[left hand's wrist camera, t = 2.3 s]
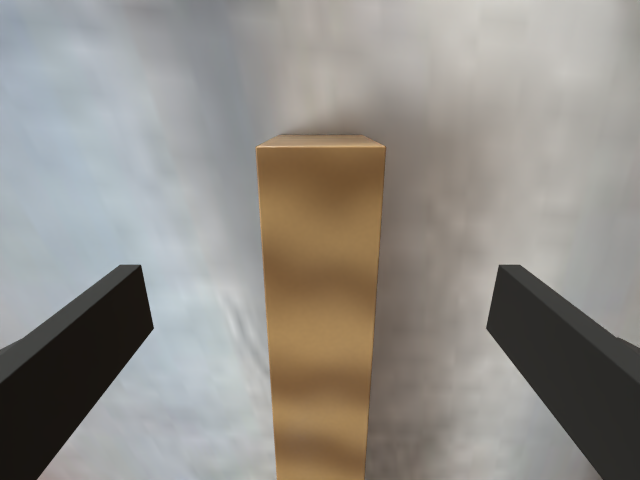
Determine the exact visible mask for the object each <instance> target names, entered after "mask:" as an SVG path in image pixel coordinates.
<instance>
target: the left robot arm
mask: <svg viewBox="0 0 640 480" xmlns="http://www.w3.org/2000/svg"><path fill="white" fill-rule="evenodd" d="M153 329H154V327H153V322H152V317H151V312H150V307H149V302H148V297H147V292H146V287H145V282H144V277H143V272H142V267H141V265H119V266H118V267H117V268H115V269H114V270H113V271H111V272H110V273H109V274H107V275H106V276H105V277H103V278H102V279H101V280H99V281H98V282H97V283H95V284H94V285H93V286H91V287H90V288H89V289H87V290H86V291H85V292H83V293H82V294H81V295H79V296H78V297H77V298H75V299H74V300H73V301H72V302H70V303H69V304H68V305H66V306H65V307H64V308H62V309H61V310H60V311H58V312H57V313H56V314H54V315H53V316H52V317H50V318H49V319H48V320H46V321H45V322H44V323H42V324H41V325H40V326H38V327H37V328H36V329H34V330H33V331H32V332H30V333H29V334H28V335H27V336H25V337H24V338H23V339H20V340H18V341H16V342H14V343H12V344H11V345H9V346H7V347H5V348H3V349H1V350H0V480H37V479H38V477H39V476H40V475H41V474H42V472H43V471H44V470H45V468H46V467H47V466H48V465H49V463H50V462H51V461H52V459H53V458H54V457H55V455H56V454H57V453H58V452H59V450H60V449H61V448H62V446H63V445H64V444H65V443H66V441H67V440H68V439H69V437H70V436H71V435H72V434H73V432H74V431H75V430H76V428H77V427H78V426H79V424H80V423H81V422H82V421H83V419H84V418H85V417H86V415H87V414H88V413H89V412H90V410H91V409H92V408H93V406H94V405H95V404H96V403H97V401H98V400H99V399H100V397H101V396H102V395H103V393H104V392H105V391H106V390H107V388H108V387H109V386H110V384H111V383H112V382H113V381H114V379H115V378H116V377H117V375H118V374H119V373H120V372H121V370H122V369H123V368H124V366H125V365H126V364H127V362H128V361H129V360H130V359H131V357H132V356H133V355H134V353H135V352H136V351H137V350H138V348H139V347H140V346H141V344H142V343H143V342H144V341H145V339H146V338H147V337H148V335H149V334H150V333H151V331H152V330H153ZM486 329H487V330H488V331H489V333H490V334H491V335H492V337H493V338H494V339H495V341H496V342H497V343H498V344H499V346H500V347H501V348H502V350H503V351H504V352H505V353H506V355H507V356H508V357H509V359H510V360H511V361H512V362H513V364H514V365H515V366H516V368H517V369H518V370H519V372H520V373H521V374H522V375H523V377H524V378H525V379H526V381H527V382H528V383H529V384H530V386H531V387H532V388H533V390H534V391H535V392H536V393H537V395H538V396H539V397H540V399H541V400H542V401H543V403H544V404H545V405H546V406H547V408H548V409H549V410H550V412H551V413H552V414H553V415H554V417H555V418H556V419H557V421H558V422H559V423H560V424H561V426H562V427H563V428H564V430H565V431H566V432H567V434H568V435H569V436H570V437H571V439H572V440H573V441H574V443H575V444H576V445H577V446H578V448H579V449H580V450H581V452H582V453H583V454H584V455H585V457H586V458H587V459H588V461H589V462H590V463H591V465H592V466H593V467H594V468H595V470H596V471H597V472H598V474H599V475H600V476H601V477H602V479H603V480H640V348H638V347H636V346H634V345H632V344H630V343H628V342H626V341H625V340H623V339H621V338H616V337H615V336H613V335H612V334H611V333H610V332H608V331H607V330H606V329H604V328H603V327H602V326H600V325H599V324H598V323H596V322H595V321H594V320H592V319H591V318H590V317H588V316H587V315H586V314H584V313H583V312H582V311H580V310H579V309H578V308H576V307H575V306H574V305H572V304H571V303H570V302H568V301H567V300H566V299H565V298H563V297H562V296H561V295H559V294H558V293H557V292H555V291H554V290H553V289H551V288H550V287H549V286H547V285H546V284H545V283H543V282H542V281H541V280H539V279H538V278H537V277H535V276H534V275H533V274H531V273H530V272H529V271H527V270H526V269H525V268H523V267H522V266H521V265H499V267H498V272H497V277H496V282H495V287H494V292H493V297H492V302H491V307H490V312H489V317H488V322H487V327H486Z"/></svg>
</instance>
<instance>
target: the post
mask: <svg viewBox="0 0 640 480" xmlns="http://www.w3.org/2000/svg"><path fill="white" fill-rule="evenodd" d="M385 157H386V147H385V146H383V145H381V144H379V143H377V142H375V141H373V140H371V139H369V138H367V137H365V136H363V135H278V136H276V137H274V138H272V139H270V140H268V141H266V142H264V143H262V144H260V145H258V146H256V163H257V178H258V194H259V209H260V225H261V240H262V256H263V271H264V287H265V302H266V318H267V333H268V349H269V364H270V380H271V395H272V411H273V426H274V441H275V457H276V472H277V480H364V478H365V463H366V447H367V432H368V417H369V401H370V386H371V371H372V356H373V340H374V325H375V310H376V294H377V279H378V264H379V249H380V233H381V218H382V203H383V187H384V172H385Z"/></svg>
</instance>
